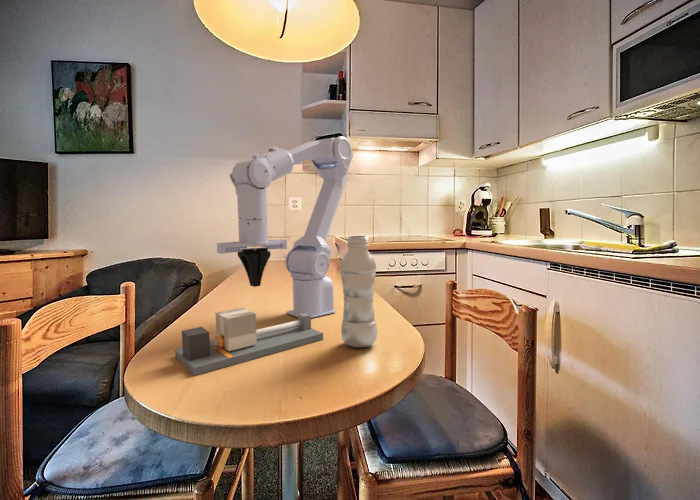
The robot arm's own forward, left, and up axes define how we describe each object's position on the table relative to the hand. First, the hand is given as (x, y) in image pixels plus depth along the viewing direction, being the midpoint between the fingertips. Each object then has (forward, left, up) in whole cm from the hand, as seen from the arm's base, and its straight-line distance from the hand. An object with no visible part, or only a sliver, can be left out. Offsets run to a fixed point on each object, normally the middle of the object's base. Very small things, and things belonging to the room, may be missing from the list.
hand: (255, 285), depth 75 cm
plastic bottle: (-10, +21, -10) cm, 25 cm away
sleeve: (+8, +9, -8) cm, 15 cm away
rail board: (+5, +9, -9) cm, 14 cm away
